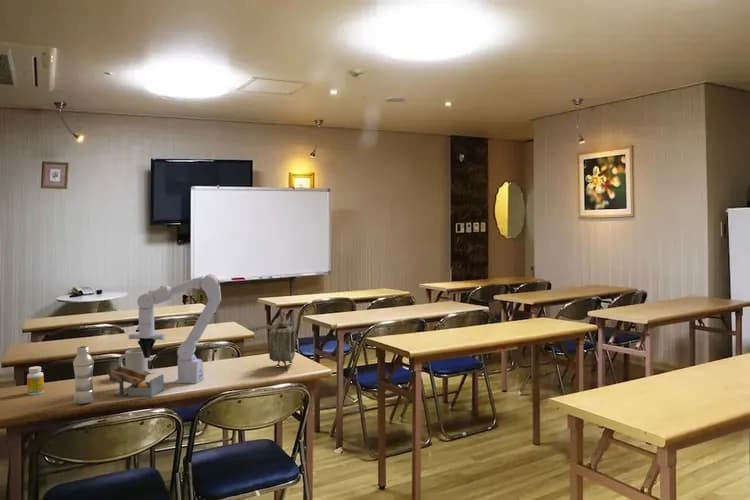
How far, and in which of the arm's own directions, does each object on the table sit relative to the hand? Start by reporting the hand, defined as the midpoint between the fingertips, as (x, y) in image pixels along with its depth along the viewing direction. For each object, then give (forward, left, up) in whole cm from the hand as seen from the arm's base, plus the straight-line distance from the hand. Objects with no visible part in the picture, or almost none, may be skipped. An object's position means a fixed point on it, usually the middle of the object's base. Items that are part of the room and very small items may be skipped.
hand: (147, 357), depth 229 cm
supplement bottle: (+36, +17, -11) cm, 41 cm away
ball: (-5, +13, -8) cm, 16 cm away
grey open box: (-7, +13, -10) cm, 18 cm away
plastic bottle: (+9, +27, -11) cm, 30 cm away
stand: (+1, +13, -10) cm, 17 cm away
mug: (+12, -9, -11) cm, 18 cm away
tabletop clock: (-46, -30, -11) cm, 56 cm away
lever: (+1, +10, -7) cm, 12 cm away
